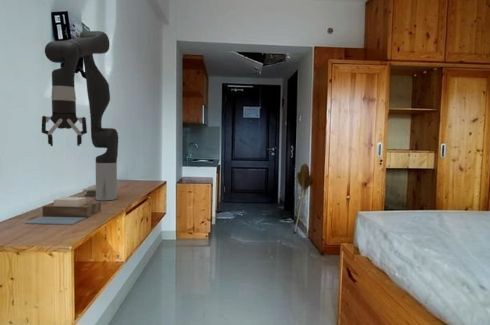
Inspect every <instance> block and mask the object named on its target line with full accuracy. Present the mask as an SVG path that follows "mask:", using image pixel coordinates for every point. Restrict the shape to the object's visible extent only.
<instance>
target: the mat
mask: <svg viewBox="0 0 490 325" xmlns="http://www.w3.org/2000/svg"><path fill="white" fill-rule="evenodd" d="M86 219H87V218H85V217H43V216H40V217H37V218H34V219H32V220H28V221H25V222H24V224H25V225H63V226H64V225H65V226H66V225H67V226H73V225H76V224H77V223H80V222H81V221H84V220H86Z"/></svg>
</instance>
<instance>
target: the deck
mask: <svg viewBox="0 0 490 325" xmlns="http://www.w3.org/2000/svg"><path fill="white" fill-rule="evenodd" d="M101 204H102V203H101V201H87V200H86V204H84V205H81V206H79V207H69V206H54V202H53V203H49V204H46V205H43V206H42V217H85V218H86V219H88V218H90V217H92V215H93V216H95V215H96V214H98V213H100V212H101V209H102V208H101V207H102V206H101ZM94 214H95V215H94Z"/></svg>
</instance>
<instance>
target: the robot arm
mask: <svg viewBox="0 0 490 325" xmlns="http://www.w3.org/2000/svg"><path fill="white" fill-rule="evenodd" d="M109 50H110V38H109V36H108V34H106V32H104V31H101V30H100V31H99V30H83V31H81V32H80V33H79V37H74V38H71V39H65V40H54V41H49V42H48V43H47V44H45V48H44V55H45V57H46V58H47V59H48V60H49V61H50V62H51V63H58V64H59V63H60V64H61V63H62V64H63V66H62V67H60V68H55V69H53V70H52V71H51V86H52V87H51V95H50V96H51V97H50V98H51V112H52V113H51V116H46V115H42V116H41V133H42V134H45V135H47V143H48V145H49V146H50V147H53V146H54V144H53V143H54V140H53V133H54V132H55V131H56V130H57V129H60V130H64V129H66V130H67V129H69V130H70V129H72V130H73V131H74V132H75V133H76V134H77V135H76V145H77V146H78V147H80V145H82V142H83V141H82V139H83V138H82V137H83V135H85V134H87V133H88V130H87V129H88V128H87V127H88V126H87V118H86V117H85V116H81V117H78V116H77V107H76V106H77V104H76V103H77V98H76V89H75V75H76V71H77V65H78V64H79V60H80V58H82V61H83V66H84V72H85V82H86V92H87V97H88V98H87V99H88V106H89V114H90V115H89V117H90V138H91V143H92V146H93V147H95V148H97V149H98V148H99V149H103V148H104V149H106V151H105V152H104V153H102V154H99V155H97V156H96V157H95V185H96V196H95V200H96V201H115V200H117V199H118V165H117V164H118V163H117V162H118V154H119V153H118V150H119V133H118V131H117V129H115V128H113V127H112V128H110V127H103V126H102V119H103V116H104V113H105V112H106V110H107V107H108V106H109V104H110V101H111V94H110V84H109V81H107V79H106V78H105V76H104V75H103V73H102V72H101V71H100V70H99V68H98V67H97V64H96V62H95V59H94V55H95V54H96V55H97V54H99V55H100V54H101V55H102V54H106V53H108V51H109ZM50 120H51V122H53V126H51V128H50V129H49V130H47V129H46V128H47V125H46V124H47V123H49V121H50ZM78 121H79V124H81V126H82V127H81V128H82V130H81V131H80V130H79V128H78V127H77V126H76V124H77V122H78Z"/></svg>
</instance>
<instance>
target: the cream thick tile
mask: <svg viewBox="0 0 490 325" xmlns="http://www.w3.org/2000/svg"><path fill="white" fill-rule="evenodd" d="M86 201H87V197H77V196H72V197H71V196H68V197H67V196H62V197H58V198H55V199H53V203H54V206H69V207H79V206H81V205H84V204H86Z"/></svg>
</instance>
